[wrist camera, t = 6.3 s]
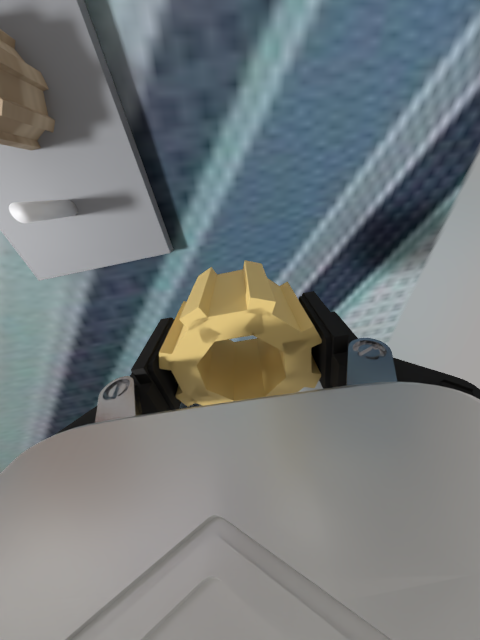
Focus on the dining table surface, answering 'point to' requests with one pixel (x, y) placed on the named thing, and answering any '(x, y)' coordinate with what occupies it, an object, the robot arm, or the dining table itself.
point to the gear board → (74, 154)
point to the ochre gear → (244, 356)
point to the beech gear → (21, 99)
